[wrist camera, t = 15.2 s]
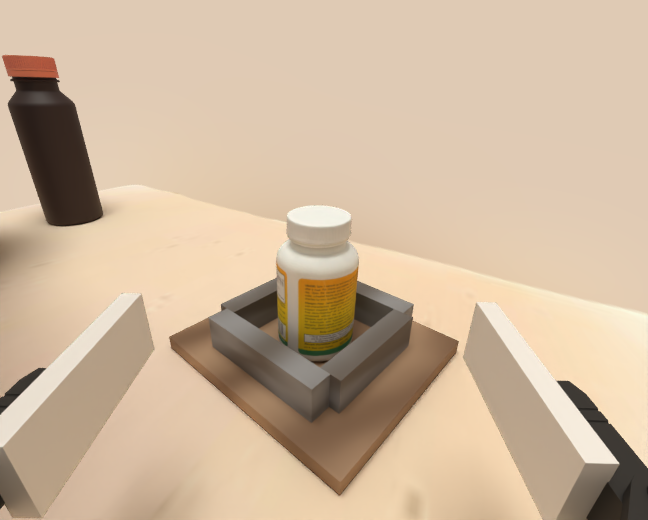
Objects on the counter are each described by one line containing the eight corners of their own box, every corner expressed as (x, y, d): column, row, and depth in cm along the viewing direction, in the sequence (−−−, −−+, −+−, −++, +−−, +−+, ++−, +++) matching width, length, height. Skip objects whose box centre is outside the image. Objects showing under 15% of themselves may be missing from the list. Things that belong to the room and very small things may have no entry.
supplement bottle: (263, 344, 26) (255, 216, 21) (308, 310, 30) (309, 197, 25) (325, 376, 23) (330, 237, 19) (365, 334, 27) (377, 212, 23)
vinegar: (114, 212, 53) (76, 59, 44) (76, 228, 47) (23, 54, 39) (76, 208, 55) (32, 58, 46) (34, 223, 49) (-26, 54, 40)
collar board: (171, 347, 27) (163, 308, 25) (302, 280, 36) (302, 248, 35) (339, 495, 17) (342, 446, 16) (456, 351, 27) (465, 313, 25)
